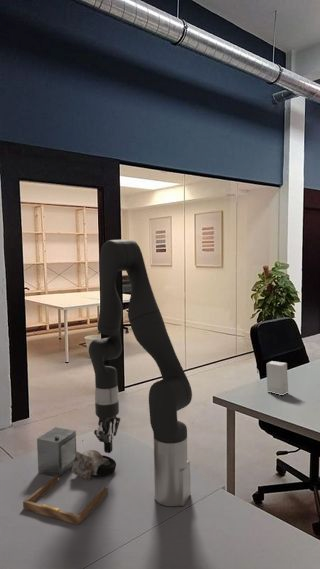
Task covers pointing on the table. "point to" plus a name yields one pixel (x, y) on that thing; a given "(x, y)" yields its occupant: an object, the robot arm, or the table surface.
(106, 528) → the table surface
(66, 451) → the control box
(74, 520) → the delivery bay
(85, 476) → the caster wheel
